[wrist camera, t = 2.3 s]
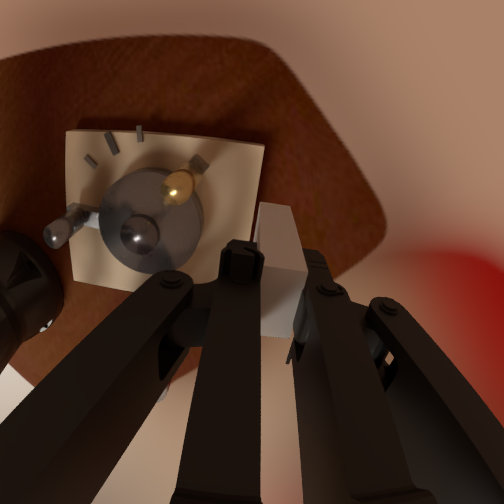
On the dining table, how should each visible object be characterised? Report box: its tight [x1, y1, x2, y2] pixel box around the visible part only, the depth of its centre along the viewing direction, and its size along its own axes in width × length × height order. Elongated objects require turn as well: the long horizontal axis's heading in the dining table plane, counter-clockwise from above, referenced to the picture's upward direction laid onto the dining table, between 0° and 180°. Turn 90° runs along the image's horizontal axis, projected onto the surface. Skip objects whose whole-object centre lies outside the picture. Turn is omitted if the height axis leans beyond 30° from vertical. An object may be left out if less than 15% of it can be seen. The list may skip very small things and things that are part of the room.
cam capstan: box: [43, 154, 210, 274], centre depth 26 cm, size 13×16×7 cm
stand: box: [65, 125, 265, 292], centre depth 31 cm, size 20×18×4 cm
